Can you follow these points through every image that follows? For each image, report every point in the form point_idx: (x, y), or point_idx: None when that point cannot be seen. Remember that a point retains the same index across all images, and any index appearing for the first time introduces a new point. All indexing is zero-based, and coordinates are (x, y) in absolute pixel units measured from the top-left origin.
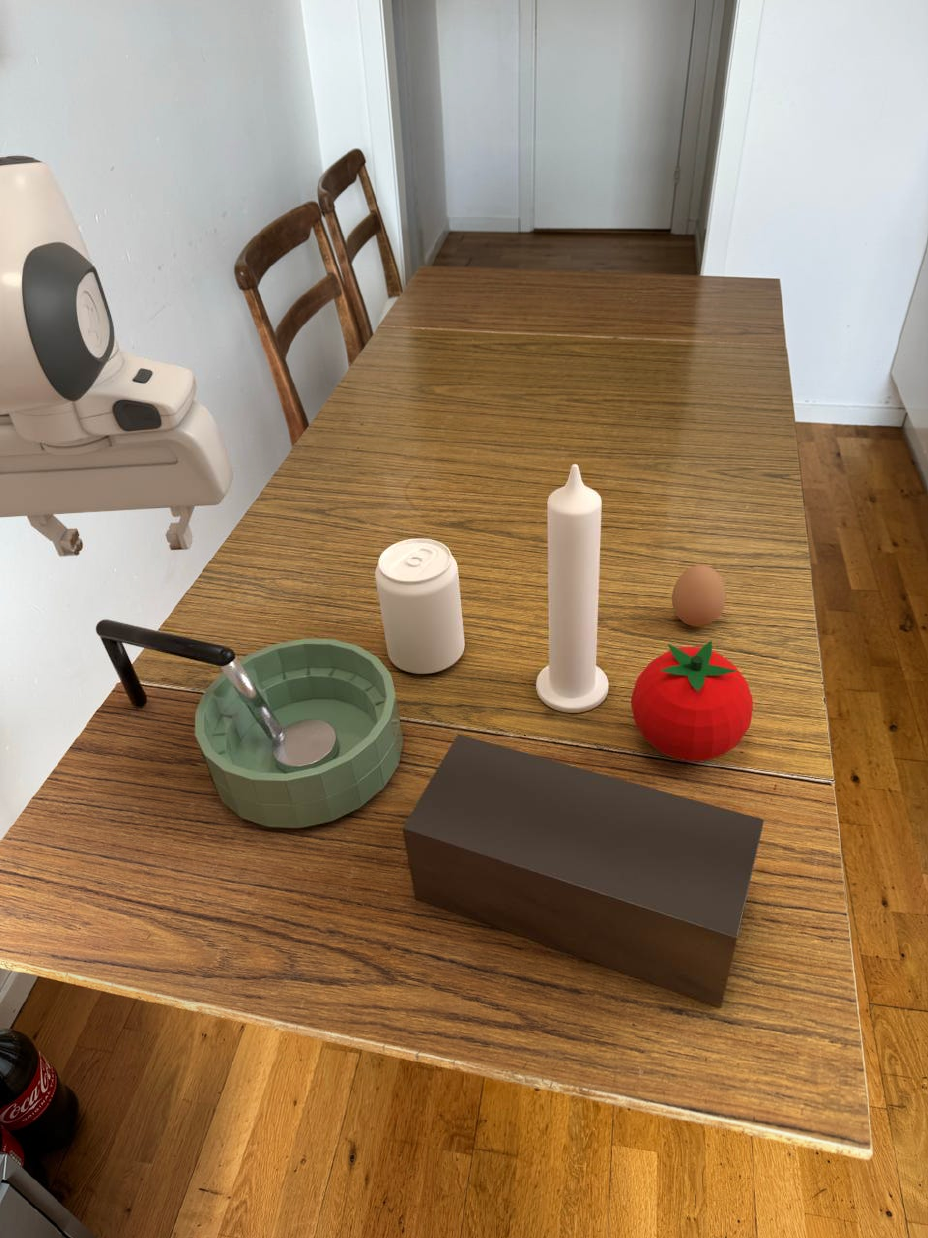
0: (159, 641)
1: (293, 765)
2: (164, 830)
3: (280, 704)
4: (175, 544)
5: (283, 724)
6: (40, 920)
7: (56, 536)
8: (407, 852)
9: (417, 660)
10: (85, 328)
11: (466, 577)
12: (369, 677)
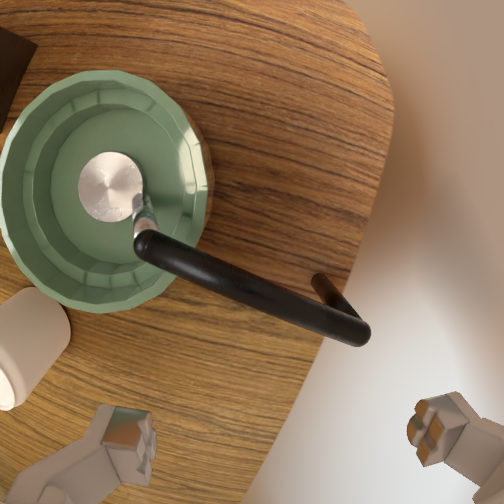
0: (265, 289)
1: (114, 152)
2: (253, 97)
3: None
4: (124, 419)
5: None
6: (342, 24)
7: (475, 431)
8: (5, 29)
9: (28, 294)
10: None
11: (44, 398)
12: (42, 259)
